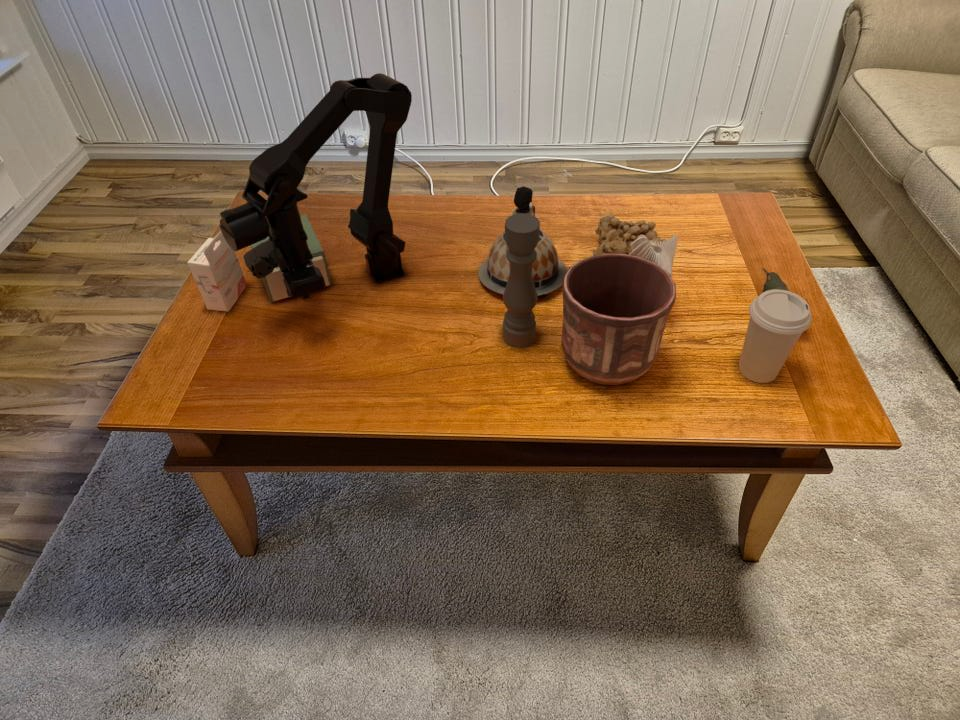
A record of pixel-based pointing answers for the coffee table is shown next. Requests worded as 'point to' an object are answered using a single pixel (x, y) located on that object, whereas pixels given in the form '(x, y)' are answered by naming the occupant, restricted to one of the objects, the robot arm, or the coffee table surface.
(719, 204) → the coffee table surface
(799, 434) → the coffee table surface
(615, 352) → the pottery
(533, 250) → the candle holder
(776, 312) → the coffee cup
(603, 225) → the mineral formation
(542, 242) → the patterned domed piece
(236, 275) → the ink cartridge box
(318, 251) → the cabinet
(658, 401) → the coffee table surface
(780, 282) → the sculpture
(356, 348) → the coffee table surface
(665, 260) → the shell sculpture
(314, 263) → the drawer
